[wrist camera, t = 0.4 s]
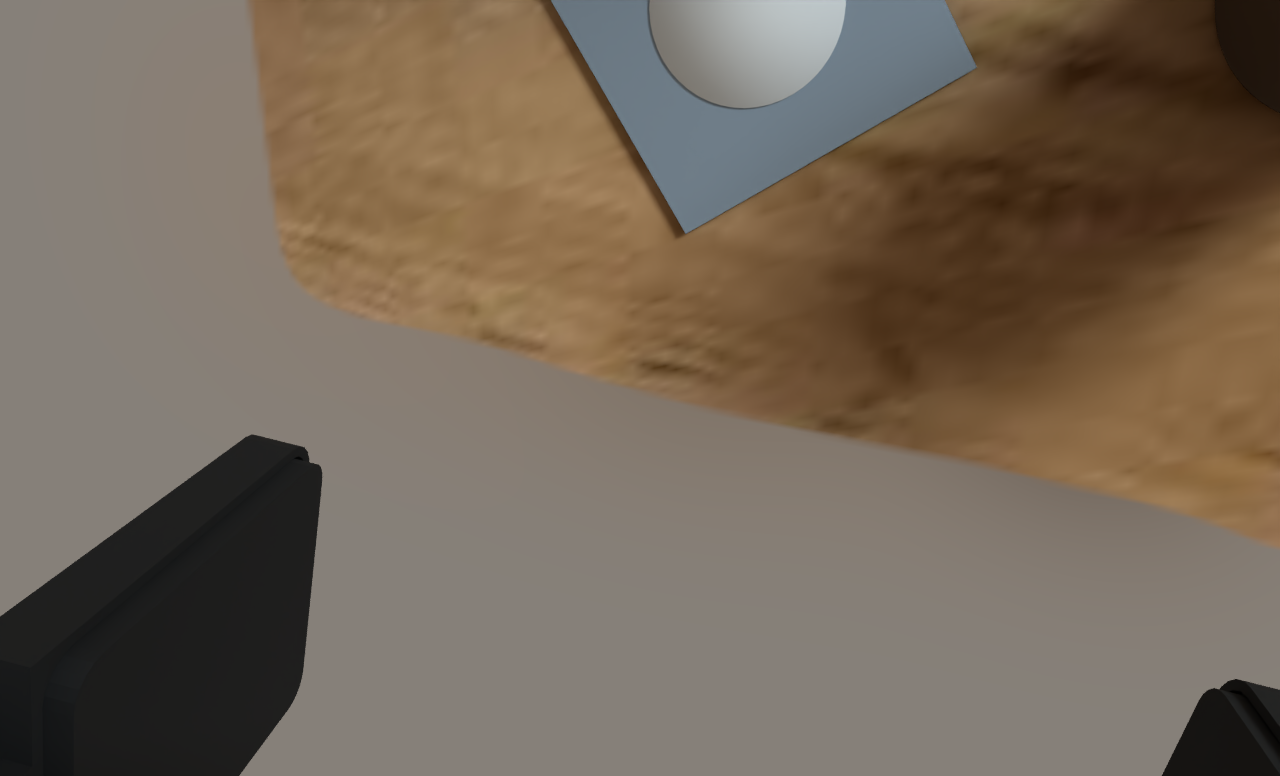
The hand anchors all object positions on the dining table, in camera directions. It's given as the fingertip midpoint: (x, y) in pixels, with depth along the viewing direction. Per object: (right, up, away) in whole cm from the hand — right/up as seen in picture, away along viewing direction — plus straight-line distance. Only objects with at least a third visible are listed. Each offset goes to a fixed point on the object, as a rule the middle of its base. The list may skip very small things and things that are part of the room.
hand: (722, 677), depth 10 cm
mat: (+3, +17, +25) cm, 31 cm away
